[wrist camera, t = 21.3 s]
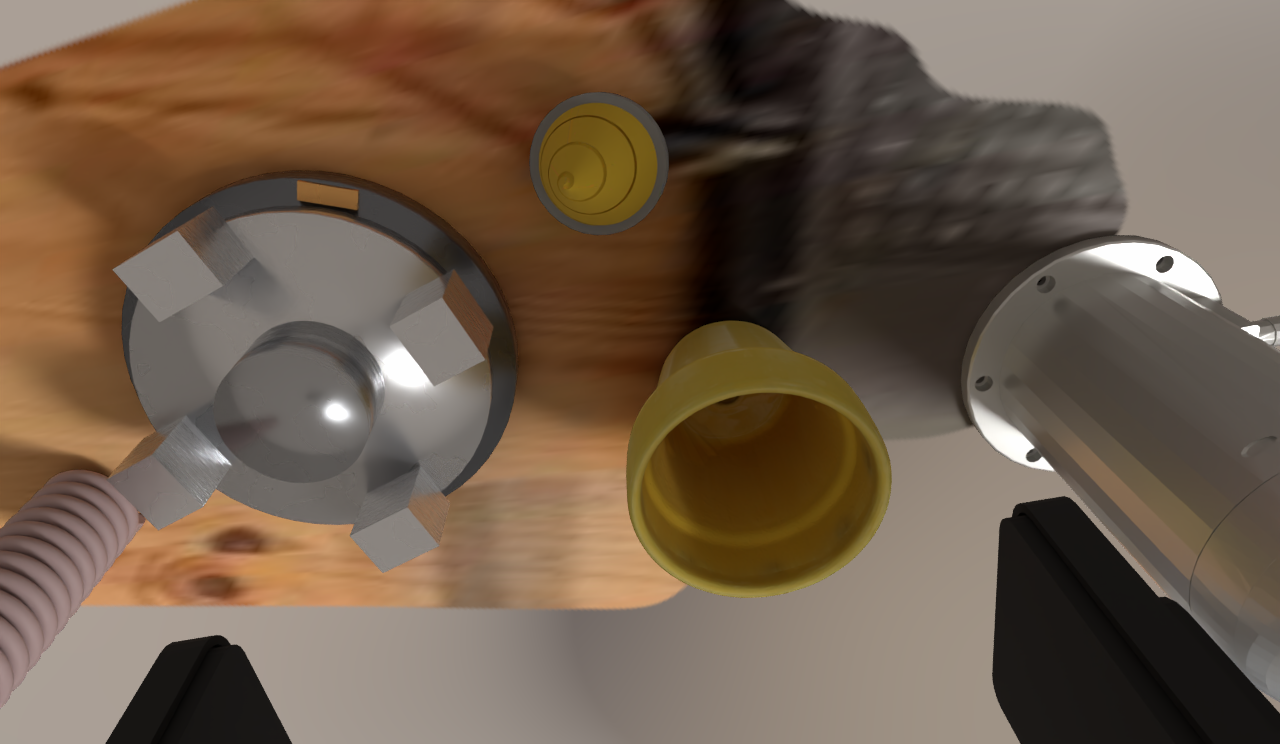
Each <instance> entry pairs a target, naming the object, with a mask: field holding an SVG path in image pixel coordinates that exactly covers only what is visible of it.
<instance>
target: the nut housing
mask: <svg viewBox="0 0 1280 744" xmlns="http://www.w3.org/2000/svg"><path fill="white" fill-rule="evenodd" d="M296 205H298V206H310V207H322V208H327V209H332V210H337V211H342V212H347V213H350V214H353V215H356V216H359V217H362V218H365V219H368V220H371V221H373V222H375V223H378V224H380V225H382V226H384V227H386V228H388V229H391V230H393V231H395V232H396V233H398V234H400V235H401V236H403V237H405V238H406V239H408V240H409V241H411V242H413V243H414V244H416V245H417V246H418V247H420V248H421V249H422V250H423V251H425V252H426V253H427V254H429V255H430V256H431V257H432V258H434V259H435V260H436V261H437V262H438V263H439V264H440V265H441V266H442V267H443V268H444V269H445V270H446V271H447V272H449V271H451V270H453V269H454V270H455V271H456V272H457V274H458V275H459V277H460V278H461V280H462V281H463V283H464V284H465V286H466V287H467V289H468V290H469V292H470V293H471V295H472V296H473V297H474V299H475V300H476V302H477V303H478V305H479V306H480V308H481V309H482V311H483V312H484V314H485V315H486V317H487V318H488V320H489V321H490V322H491V324H492V325H493V331H492V335H491V339H490V343H489V348H490V351H491V358H492V366H493V394H492V399H491V405H490V410H489V415H488V420H487V424H486V427H485V430H484V433H483V436H482V439H481V441H480V443H479V445H478V447H477V449H476V451H475V453H474V455H473V457H472V458H471V460H470V461H469V462H468V464H467V465H466V466H465V468H464V469H463V471H462V472H461V473H460V474H459V475H458V476H457V477H456V478H455V479H454V480H453V481H452V482H451V483H450V484H449V485H448V486H447V487H446V488H444V489H443V490H442V491H441V492H442V493H443V495H444V496H447V495H448V494H450V493H451V492H453V491H454V490H456V489H457V488H459V487H460V486H461V485H463V484H464V483H465V482H466V481H467V480H468V479H469V478H471V477H472V476H473V475H474V474H475V473H476V472H477V471H478V470H479V469H480V467H481V466H482V465H483V464H484V463H485V462H486V460H487V459H488V458H489V457H490V455H491V454H492V452H493V450H494V449H495V447H496V446H497V444H498V443H499V441H500V439H501V437H502V434H503V432H504V430H505V428H506V425H507V423H508V420H509V417H510V413H511V409H512V406H513V402H514V396H515V390H516V382H517V373H518V344H517V339H516V333H515V328H514V323H513V320H512V316H511V313H510V310H509V307H508V304H507V301H506V299H505V297H504V295H503V293H502V291H501V289H500V287H499V285H498V283H497V281H496V279H495V278H494V276H493V274H492V273H491V271H490V270H489V268H488V267H487V265H486V264H485V262H484V261H483V259H482V258H481V257H480V256H479V255H478V253H477V252H476V251H475V250H474V249H473V248H472V246H471V245H470V244H469V243H468V242H467V241H466V240H465V239H464V238H463V237H462V236H461V235H460V234H459V233H458V232H457V231H456V230H455V229H453V228H452V227H451V226H450V225H449V224H448V223H447V222H446V221H444V220H443V219H441V218H440V217H439V216H437V215H436V214H434V213H433V212H432V211H430V210H429V209H428V208H426V207H425V206H423V205H421V204H419V203H418V202H416V201H414V200H412V199H410V198H408V197H407V196H405V195H403V194H401V193H399V192H397V191H394V190H392V189H389V188H387V187H384V186H382V185H379V184H377V183H374V182H371V181H367V180H363V179H360V178H356V177H353V176H349V175H343V174H336V173H329V172H323V171H285V172H275V173H266V174H262V175H258V176H254V177H250V178H246V179H242V180H240V181H237V182H235V183H232V184H230V185H227V186H225V187H222V188H220V189H218V190H216V191H214V192H213V193H211V194H209V195H208V196H206V197H204V198H203V199H201V200H199V201H198V202H196V203H194V204H193V205H191V206H190V207H188V208H187V209H185V210H184V211H182V212H181V213H180V214H178V215H177V216H176V217H175V218H174V219H172V220H171V221H170V222H169V223H168V224H166V225H165V226H164V227H163V228H162V229H161V230H160V231H159V233H158V234H157V235H156V236H155V237H154V238H153V240H152V241H151V242H150V243H149V244H151V243H152V242H154V241H156V240H157V239H159V238H161V237H162V236H164V235H166V234H167V233H169V232H171V231H172V230H174V229H176V228H177V227H179V226H181V225H182V224H184V223H186V222H187V221H189V220H191V219H193V218H194V217H196V216H198V215H199V214H201V213H203V212H204V211H206V210H208V209H209V208H211V207H214V208H215V209H216V210H217V212H218V213H219V214H220V215H221V217H222V218H223V219H225V218H228V217H231V216H234V215H237V214H240V213H243V212H246V211H250V210H256V209H261V208H267V207H273V206H296ZM149 244H148V245H149ZM148 245H147V246H148ZM137 302H138V298H137V297H136V296H135V294H134V293H133V292H132V291H131V290H130V289H129V288H128V287H127V290H126V295H125V300H124V305H123V310H122V340H123V349H124V356H125V360H126V364H127V368H128V371H129V375H130V379H131V381H132V383H133V386H134V388H135V390H136V387H135V385H134V381H133V375H132V370H131V365H130V350H129V339H130V331H131V323H132V318H133V315H134V312H135V308H136V305H137ZM136 393H137V390H136ZM137 395H138V393H137ZM138 397H139V396H138ZM139 400H140V399H139Z"/></svg>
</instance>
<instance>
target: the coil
mask: <svg viewBox="0 0 1280 744" xmlns="http://www.w3.org/2000/svg"><path fill="white" fill-rule="evenodd" d="M107 478H108V477H107V476H105V475H102V474H100V473H97V472H93V471H88V470H70V471H65V472H62V473H59V474H57V475H55V476H53V477H52V478H51V479H50V480H49V481H48V482H47V483H46V484H45V485H44V487H43V488H41V489H40V490H39V491H37V492H36V493H35V495H34V496H33V497H32V498H31V500H29V501H28V502H27V503H25V504H24V505H23V506H22V507H21V509H20V510H19V511H18V513H16V514H15V515H14V516H12V517H11V518H10V519H9V520H8V521H7V522H6V524H5V525H4V527H2V528H1V529H0V709H1V707H3V706H4V704H6V702H7V701H8V699H9V698H10V695H11V692H12V691H14V690H15V689H16V688H17V687H18V686H19V685H20V684H21V683H22V681H23V680H24V678H25V676H26V674H27V672H28V671H29V670H31V669H32V668H33V667H34V666H35V664H36V663H37V662H38V660H39V659H40V657H41V654H42V653H43V652H44V651H46V649H48V647H49V646H50V645H51V643H52V642H53V641H54V639H55V636H56V635H57V634H59V632H60V631H62V630H63V628H64V627H65V625H66V624H67V622H68V620H69V618H71V617H72V616H73V615H74V614H75V613H76V612H77V610H78V609H79V607H80V605H81V603H82V602H83V601H84V600H85V599H86V598H87V597H88V596H89V595H90V593H91V591H92V590H93V587H95V586H96V585H97V584H98V583H99V582H100V581H101V579H102V577H103V576H104V573H105V572H106V571H108V569H109V568H110V567H111V566H112V565H113V563H114V561H115V559H116V558H117V557H118V556H119V555H120V554H121V553H122V552H123V550H124V549H125V547H126V545H127V544H128V543H129V542H130V541H131V540H132V539H133V537H134V536H135V534H136V532H138V531H139V529H140V528H141V527H142V526H143V524H144V523H145V520H146V519H145V517H144V516H143V515H141V514H139V513H138V510H137V509H136V508H135V507H134V506H133V505H132V504H131V503H130V502H129V501H128V500H127V499H126V498H125V497H124V496H123V495H122V494H121V493H120V492H118V491H117V490H116V489H115V488H114V487H113V486H112V485H111V484H110V483H109V482H108V481H107V480H106V479H107Z"/></svg>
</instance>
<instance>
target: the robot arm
mask: <svg viewBox="0 0 1280 744" xmlns="http://www.w3.org/2000/svg"><path fill="white" fill-rule="evenodd" d="M1042 277H1043V278H1042ZM1041 278H1042V280H1041V281H1040V282H1039V283H1038V281H1039V280H1040V279H1041ZM1275 346H1280V316H1274V317H1268V318H1263V319H1261V320H1259V321H1253V322H1250V321H1249V320H1247V319H1245V318H1243V317H1242V316H1240V315H1238V314H1236V313H1234V312H1233V311H1231V310H1229V309H1227V308H1226V307H1224V306H1223V304H1222V299H1221V295H1220V293H1219V291H1218V289H1217V287H1216V285H1215V283H1214V281H1213V279H1212V277H1211V276H1210V275H1209V274H1208V273H1207V272H1206V271H1205V270H1204V268H1203V267H1202V266H1201V265H1200V264H1199V263H1198V262H1197V261H1195V260H1194V259H1192V258H1191V257H1189V256H1187V255H1186V254H1184V253H1183V252H1181V251H1180V250H1178V249H1176V248H1173V247H1171V246H1169V245H1167V244H1164V243H1162V242H1160V241H1158V240H1153V239H1149V238H1144V237H1140V236H1131V235H1111V236H1105V237H1099V238H1093V239H1087V240H1083V241H1081V242H1078V243H1075V244H1072V245H1069V246H1066V247H1063V248H1060V249H1058V250H1056V251H1055V252H1053V253H1051V254H1049V255H1047V256H1045V257H1043V258H1041V259H1040V260H1038V261H1036V262H1034V263H1033V264H1032V265H1030V266H1029V267H1028V268H1026V269H1025V270H1024V271H1022V272H1021V273H1020V274H1018V275H1017V276H1016V277H1014V278H1013V279H1012V280H1011V281H1010V282H1009V283H1008V284H1007V285H1006V286H1005V287H1004V288H1003V289H1002V290H1001V291H1000V292H999V293H998V294H997V295H996V296H995V297H994V299H993V300H992V301H991V303H990V304H989V306H988V307H987V308H986V310H985V311H984V312H983V314H982V315H981V317H980V318H979V320H978V322H977V324H976V326H975V328H974V330H973V332H972V334H971V336H970V338H969V340H968V344H967V347H966V351H965V354H964V358H963V362H962V373H961V389H962V396H963V402H964V405H965V408H966V410H967V413H968V415H969V418H970V420H971V422H972V423H973V425H974V426H975V427H976V429H977V430H978V432H979V433H980V434H981V436H982V437H983V438H984V439H985V440H986V441H987V442H988V443H989V444H990V445H991V446H992V447H993V449H994V450H995V451H997V452H998V453H1000V454H1002V455H1003V456H1005V457H1006V458H1008V459H1009V460H1011V461H1013V462H1015V463H1018V464H1020V465H1023V466H1025V467H1029V468H1034V469H1039V470H1045V471H1056V472H1057V474H1058V475H1059V476H1060V477H1061V478H1062V479H1063V480H1064V481H1065V482H1066V484H1067V485H1068V486H1069V487H1070V488H1071V489H1072V490H1073V491H1074V492H1075V494H1076V495H1077V496H1078V497H1079V498H1080V499H1081V500H1082V501H1083V503H1084V504H1085V505H1086V506H1087V507H1088V508H1089V509H1090V510H1091V512H1092V513H1093V514H1094V515H1095V516H1096V517H1097V518H1098V519H1099V520H1100V522H1102V524H1103V525H1104V526H1105V527H1106V528H1107V529H1108V530H1109V532H1110V533H1111V534H1112V535H1113V536H1114V537H1115V538H1116V539H1117V540H1118V542H1119V543H1120V544H1121V545H1122V546H1123V547H1124V548H1125V549H1126V551H1127V552H1128V553H1129V554H1130V555H1131V556H1132V557H1133V558H1134V559H1135V561H1137V563H1138V564H1139V565H1140V566H1141V567H1142V568H1143V570H1144V571H1145V572H1146V573H1147V574H1148V575H1149V576H1150V577H1151V578H1152V580H1153V581H1154V582H1155V583H1156V584H1157V585H1158V586H1159V587H1160V589H1161V590H1162V591H1163V592H1164V593H1165V594H1166V595H1167V596H1168V597H1169V598H1167V597H1158V596H1157V595H1156V594H1155V593H1154V591H1153V590H1152V589H1151V588H1150V587H1149V586H1148V585H1147V584H1146V582H1145V581H1144V580H1143V579H1142V578H1141V577H1140V575H1139V574H1138V573H1137V572H1136V571H1135V570H1134V569H1133V568H1132V566H1131V565H1130V564H1129V563H1128V562H1127V561H1126V560H1125V558H1124V557H1123V556H1122V555H1121V554H1120V553H1119V552H1118V551H1117V549H1116V548H1115V547H1114V546H1113V545H1112V544H1111V543H1110V541H1109V540H1108V539H1107V538H1106V537H1105V536H1104V535H1103V533H1102V532H1101V531H1100V530H1099V529H1098V528H1097V527H1096V526H1095V525H1094V523H1093V522H1092V521H1091V520H1090V519H1089V518H1088V516H1087V515H1086V514H1085V513H1084V512H1083V511H1082V510H1081V509H1080V507H1079V506H1078V505H1077V504H1076V503H1075V502H1074V501H1073V500H1071V499H1070V498H1068V497H1065V496H1063V497H1056V498H1050V499H1044V500H1038V501H1032V502H1026V503H1020V504H1017V505H1016V506H1015V508H1014V510H1013V514H1012V517H1011V518H1005V519H1002V521H1001V523H1000V529H999V550H998V569H997V570H998V571H997V590H996V610H995V631H994V651H993V673H992V676H993V685H994V689H995V693H996V697H997V699H998V702H999V704H1000V706H1001V709H1002V710H1003V712H1004V714H1005V716H1006V718H1007V720H1008V721H1009V723H1010V725H1011V727H1012V729H1013V731H1014V732H1015V734H1016V736H1017V738H1018V740H1019V741H1020V743H1021V744H1280V713H1279V712H1278V711H1277V710H1276V709H1275V708H1274V707H1273V705H1272V704H1271V703H1270V702H1269V701H1268V700H1267V699H1266V698H1265V697H1264V695H1263V694H1262V693H1261V692H1260V691H1262V692H1264V693H1265V694H1266V695H1268V696H1270V697H1271V698H1273V699H1275V700H1277V701H1279V702H1280V350H1278V349H1277V348H1275ZM980 377H981V378H980ZM979 378H980V379H979ZM978 379H979V380H978ZM1258 689H1259V690H1260V691H1259V690H1258ZM106 744H292V743H291V741H290V739H289V737H288V735H287V733H286V731H285V729H284V727H283V725H282V723H281V721H280V719H279V718H278V716H277V714H276V712H275V710H274V708H273V706H272V704H271V702H270V700H269V698H268V697H267V695H266V693H265V691H264V689H263V687H262V685H261V683H260V681H259V679H258V677H257V675H256V673H255V671H254V669H253V667H252V666H251V664H250V662H249V660H248V658H247V656H246V654H245V652H244V651H243V649H242V648H241V647H240V646H238V645H230V643H229V642H228V640H227V639H226V638H224V637H223V636H220V635H215V636H208V637H203V638H196V639H190V640H184V641H178V642H172V643H171V644H169V645H167V646H166V647H165V648H164V649H163V651H162V652H161V653H160V654H159V656H158V658H157V659H156V661H155V663H154V664H153V666H152V668H151V669H150V671H149V673H148V674H147V676H146V678H145V679H144V681H143V683H142V684H141V686H140V687H139V689H138V691H137V692H136V694H135V696H134V697H133V699H132V701H131V702H130V704H129V706H128V707H127V709H126V711H125V712H124V714H123V716H122V717H121V719H120V720H119V722H118V724H117V725H116V727H115V729H114V730H113V732H112V734H111V735H110V737H109V739H108V740H107V742H106Z"/></svg>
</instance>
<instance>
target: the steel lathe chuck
mask: <svg viewBox="0 0 1280 744" xmlns="http://www.w3.org/2000/svg"><path fill="white" fill-rule="evenodd" d="M112 270H113V271H114V272H115V273H116V274H117V275H118V277H119V278H120V279H121V280H122V281H123V282H124V283H125V284H126V285H127V287H128V288H129V289H130V290H131V291H132V292H133V293H134V294H135V296H136V297H137V298H138V302H137V305H136V308H135V312H134V315H133V318H132V323H131V331H130V339H129V350H130V365H131V370H132V375H133V381H134V385H135V387H136V390H137V393H138V396H139V399H140V402H141V404H142V406H143V408H144V410H145V412H146V414H147V416H148V418H149V420H150V422H151V424H152V425H153V427H154V428H155V430H156V432H155V433H153V434H151V435H149V436H147V437H145V438H144V439H143V440H142V441H141V442H140V443H139V444H138V445H137V446H136V447H135V448H134V449H133V451H132V452H131V453H130V454H129V455H128V456H127V457H126V458H125V459H124V460H123V462H122V463H121V464H120V465H119V466H118V467H117V468H116V469H115V470H114V472H113V473H112V474H111V475H110V476H109V477H108V478H107V479H106V480H107V481H108V482H109V483H110V484H111V485H112V486H113V487H114V488H115V489H116V490H117V491H118V492H120V493H121V494H122V495H123V496H124V497H125V498H126V499H127V500H128V501H129V502H130V503H131V504H132V505H133V506H134V507H135V508H136V509H137V510H138V511H139V512H140V513H141V514H142V515H143V516H144V517H145V518H146V519H147V520H148V521H149V522H150V523H151V524H152V525H153V526H154V527H156V528H157V529H158V530H160V529H162V528H164V527H165V526H167V525H169V524H171V523H173V522H175V521H177V520H179V519H181V518H183V517H185V516H187V515H189V514H190V513H192V512H194V511H196V510H198V509H200V508H202V507H203V506H204V505H205V503H206V502H207V500H208V499H209V497H210V496H211V495H212V493H213V492H214V490H215V489H217V490H219V491H220V492H222V493H224V494H225V495H227V496H229V497H230V498H232V499H234V500H236V501H238V502H241V503H243V504H245V505H247V506H249V507H251V508H254V509H257V510H259V511H262V512H265V513H268V514H271V515H274V516H278V517H282V518H286V519H290V520H294V521H300V522H307V523H314V524H331V525H342V524H354V527H353V529H352V532H351V534H350V537H351V538H352V539H353V540H354V541H355V542H356V543H357V545H358V546H359V547H360V548H361V549H362V550H363V551H364V552H365V554H366V555H367V556H368V557H369V558H370V559H371V560H372V561H373V563H374V564H375V565H376V566H377V567H378V568H379V569H380V570H381V572H382V573H384V572H386V571H388V570H390V569H392V568H394V567H396V566H399V565H401V564H403V563H405V562H407V561H409V560H411V559H413V558H415V557H417V556H419V555H421V554H423V553H425V552H428V551H430V550H432V549H434V548H436V547H438V546H439V545H440V541H441V537H442V533H443V529H444V525H445V521H446V517H447V513H448V509H449V505H450V502H449V501H448V500H447V498H446V497H445V496H444V495H443V493H442V492H441V491H442V490H443V489H444V488H446V487H447V486H448V485H449V484H450V483H451V482H452V481H453V480H454V479H455V478H456V477H457V476H458V475H459V474H460V473H461V472H462V471H463V469H464V468H465V466H466V465H467V464H468V462H469V461H470V460H471V458H472V457H473V455H474V453H475V451H476V449H477V447H478V445H479V443H480V441H481V439H482V436H483V433H484V430H485V427H486V424H487V420H488V415H489V410H490V405H491V399H492V394H493V366H492V358H491V351H490V348H489V343H490V339H491V335H492V331H493V325H492V324H491V322H490V321H489V320H488V318H487V317H486V315H485V314H484V312H483V311H482V309H481V308H480V306H479V305H478V303H477V302H476V300H475V299H474V297H473V296H472V295H471V293H470V292H469V290H468V289H467V287H466V286H465V284H464V283H463V281H462V280H461V278H460V277H459V275H458V274H457V272H456V271H455V270H454V269H453V270H451V271H449V272H447V271H446V270H445V269H444V268H443V267H442V266H441V265H440V264H439V263H438V262H437V261H436V260H435V259H434V258H432V257H431V256H430V255H429V254H427V253H426V252H425V251H423V250H422V249H421V248H420V247H418V246H417V245H416V244H414V243H413V242H411V241H409V240H408V239H406V238H405V237H403V236H401V235H400V234H398V233H396V232H395V231H393V230H391V229H388V228H386V227H384V226H382V225H380V224H378V223H375V222H373V221H371V220H368V219H365V218H362V217H359V216H356V215H353V214H350V213H347V212H342V211H337V210H332V209H327V208H322V207H310V206H298V205H296V206H273V207H267V208H261V209H256V210H250V211H246V212H243V213H240V214H237V215H234V216H231V217H228V218H225V219H223V218H222V217H221V215H220V214H219V213H218V212H217V210H216V209H215V208H214V207H211V208H209V209H208V210H206V211H204V212H203V213H201V214H199V215H198V216H196V217H194V218H193V219H191V220H189V221H187V222H186V223H184V224H182V225H181V226H179V227H177V228H176V229H174V230H172V231H171V232H169V233H167V234H166V235H164V236H162V237H161V238H159V239H157V240H156V241H154V242H152V243H151V244H149V245H148V246H146V247H145V248H144V249H142V250H141V251H139V252H138V253H136V254H135V255H133V256H132V257H130V258H129V259H127V260H126V261H124V262H123V263H121V264H120V265H118V266H117V267H115V268H114V269H112Z"/></svg>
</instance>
